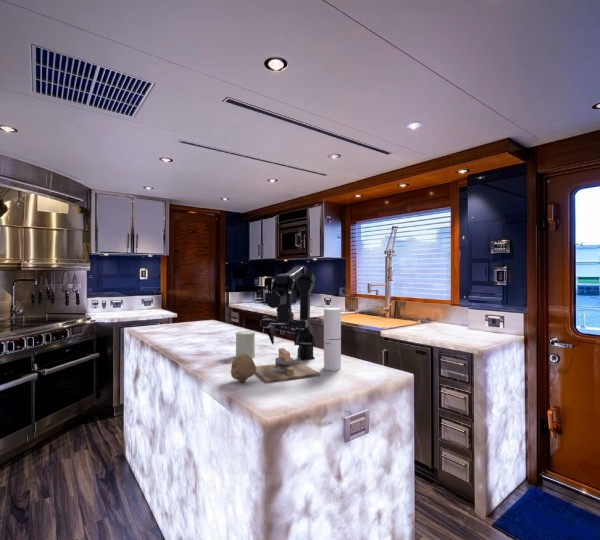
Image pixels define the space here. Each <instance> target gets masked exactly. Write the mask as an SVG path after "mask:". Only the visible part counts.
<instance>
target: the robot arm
mask: <svg viewBox="0 0 600 540" xmlns="http://www.w3.org/2000/svg"><path fill="white" fill-rule="evenodd" d="M315 283H316V276H315V275H314V273H313V272H312V271H311V270H309V269H308V268H307V267H306V266H305V265H296V266H294V267H293V268H292V269H290V270H289V271H288V272H286V273H280V274H276V276H275V277H274V279H273V282H272V285H271V288H270V293H269V295H267V297H266V304H267V306H268V307H270V308H271V309H275V308H276V320H274V319H273V318H265V317H264V318H262V319H261V320H259V321H260V322H259V327H260V328H262V329H263V330H265V332H266V333H267V336H268V337H269V341H270V343H271V344H272V345H274V344H275V335H274V327H275V326H285V327H287V326H289V327H290V326H291V327H295V328H294V337H293V338H294V341H293V342H294V343H293V344H294V346H298V348H297V358H298V359H299V360H302V361H306V360H314V359H316V357H315V356H314V347H315V346H317V339H316V337H315V334H314V328H313V327H312V325H311V323H310V322H311V293H312V290H313V289H314V288H315ZM295 284H296V287H297V289H298V291H299V292H300V293H299V295H300V297H299V299H300V300H299V319H296V321H295V320H294V319H295V315H294V312H292V295H293V291H292V290H293V288H294V286H295Z"/></svg>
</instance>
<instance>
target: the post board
mask: <svg viewBox="0 0 600 540" xmlns="http://www.w3.org/2000/svg"><path fill="white" fill-rule="evenodd" d="M255 366H256V372H255V374H254V375H257V376H258V377H259V378H260V379H261V380H262V381H263V382H265V384H267V383H268V384H269V383H270V384H271V383H275V382H276V383H277V382H283V381H292V380H297V379H298V380H299V379H306V378H314V377H320V376H321V373H320V372H319V371H317V370H315V369H313V368H311V367H309V365H306V364H304V363H303V362H301V361H293V365H292V366H288V367H279V366H276V365H275V363H274V364H272V363H271V364H266V365H265V364H264V365H255Z"/></svg>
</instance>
